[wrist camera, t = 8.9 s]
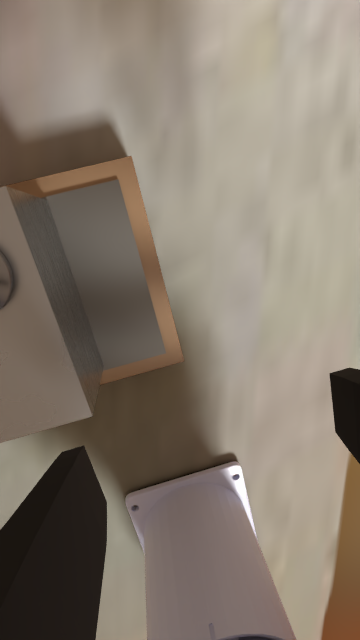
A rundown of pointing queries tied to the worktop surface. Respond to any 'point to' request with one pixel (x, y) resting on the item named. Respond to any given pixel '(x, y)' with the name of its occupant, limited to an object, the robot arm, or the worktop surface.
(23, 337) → the housing
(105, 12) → the worktop surface
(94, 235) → the stand
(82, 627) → the robot arm
